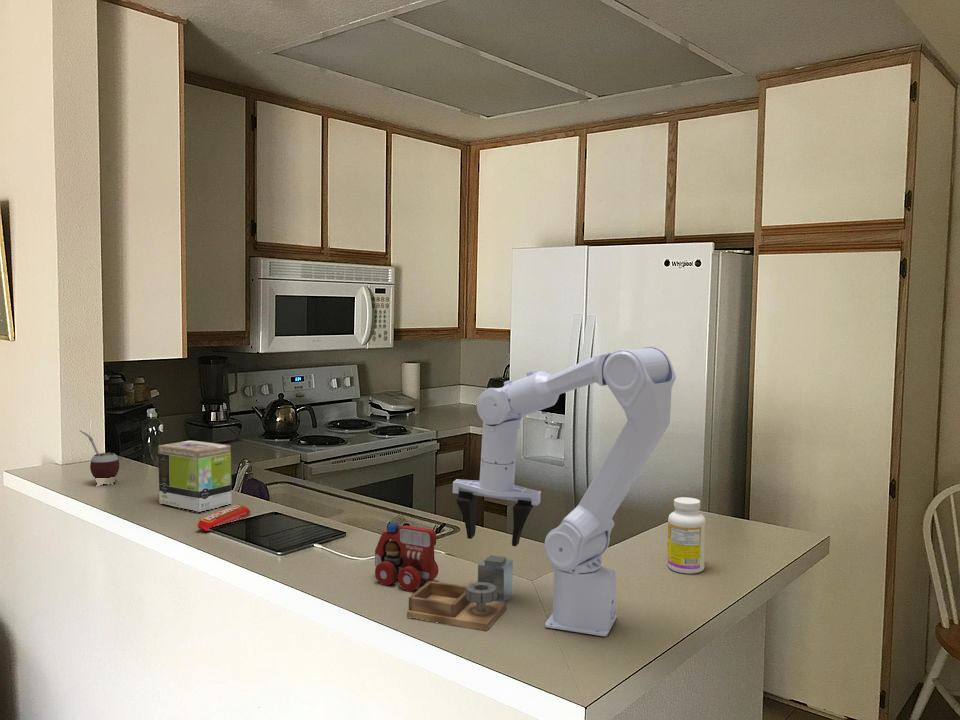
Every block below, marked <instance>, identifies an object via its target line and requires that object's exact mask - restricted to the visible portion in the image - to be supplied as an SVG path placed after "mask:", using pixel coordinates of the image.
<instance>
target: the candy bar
mask: <svg viewBox="0 0 960 720" xmlns="http://www.w3.org/2000/svg"><path fill="white" fill-rule="evenodd" d="M250 513H251V510H250V509H249V508H248V506H246V505H242V504H239V503H238V504H234V505H230V506H229V507H227V508H224V509H222V510H219V511H217V512H214V513H211V514H209V515H207V516H204V517H202V518H201V519H199V521H198V523H197V524H196V525H197V528H198V529H200V530H202V529H204V530H205V531H204V530H203V531H204V532H206V531H208V529H210V528H212V527H215V526H219V525H222V524H225V523H228V522H231V521H234V520H237V519H240V518H242V517H245V516H247V517H248V516H249V514H250ZM245 518H246V517H245ZM242 519H243V518H242ZM240 520H241V519H240Z"/></svg>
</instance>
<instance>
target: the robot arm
mask: <svg viewBox="0 0 960 720" xmlns="http://www.w3.org/2000/svg"><path fill="white" fill-rule="evenodd" d="M525 374H526V376H525V377H524V376H523V377H522V378H519V379H517V380H514V381H513V380H511V379H510V380H506V381H504V382H503V384H504V385H503V386H502V387H489V388H486V389H485V390H484V391H483V392H481V393H480V394H479V395H478V398H477V401H476V411H477V414H478V416H479V418H480V420H481V421H482V433H481V434H482V435H481V450H480V451H481V452H480V465H479V466H480V469H479V480H471V479H470V480H469V479H459V478H458V479H457V478H456V479H455V480H454V481H453V482H452V494H455V495H456V494H458V495H457V497H456V504H457V505H458V508H459V511H460V512H461V515H462V518H463V520H464V521H463V522H464V525H465V530H466V538H467V539H470V540H471V539H473V538H474V537H475V536H476V528H477V512H478V511H477V510H478V509H477V508H478V503H479V502H478V501H479V497H486V498H493V499H500V500H505V501H513V502H516V503H515V504H514V505H513V507H512V514H513V529H512V538H511V546H512V547H517V546H518V545H519V544H520V539H521V537H522V536H521V535H522V532H523V530H524V529H523V528H524V527H525V524H526V521H527V520H528V517H529V516H530V513H531V511H532V509H533V507H534V506H539V504H540V503H541V494H542V491H541V490H536V489H531V488H528V487H523V486H520V485H516V484H515V479H516V477H515V476H516V462H517V461H516V460H517V459H516V458H517V445H518V444H517V443H518V434H519V433H518V432H519V431H518V430H520V426H521V425H520V424H521V421H522V419H523V418H524V417H525V416H529V415H531V414H534V413H537V412H540V411H542V410H545V409H548V408H551V407H553V406H555V405H556V403H557V402H558V400H559V397H560V395H562V394H565V393H568V392H571V391H573V390H577V389H580V388H583V387H586V386H589V385H593V384H598V385H599V386H607V387H608V389H609V390H610V391H611V393H612V395H613V396H614V397H615V399H616V400H617V402H618V404H619V405H620V406H621V408H622V409H623V411H624V413H625V417H626V419H627V420H626V422H625V425H624V426H623V428H622V429H621V431H620V433H619V434H618V437H617V438H616V440H615V441H614V443H613V445H612V446H611V448H610V450H609V452H608V454H607V455H606V457H605V459H604V461H603V462H602V463H601V466H600V467H599V469H598V471H597V472H596V474H595V476H594V477H593V478H592V479H593V480H592V481H591V482H590V484H589V486H588V487H587V489H586V491H585V493H584V494H583V496H582V498H581V499H580V501H579V503H578V504H577V506H575V507H574V508H573V509H572V510H571V511H570V512H569V513H568V514H567V515H566V516H565V517H563V519H562V521H561V523H560V524H559V525H558V526H556V527H555V528H552V529H551V530H550V531H549V532H548V533H547V534H546V536H545V539H544V553H545V555H546V558H547V560H548V561H549V562H550V563H551V568H552V569H553V577H552V578H553V584H552V586H553V587H552V588H553V589H552V613H551V615H550V616H549V617H548V619H547V620H546V621H545V623H544V627H545V628H548V629H549V628H550V629H554V630H555V629H556V630H561V631H568V632H575V633H580V634H587V635H592V636H593V635H594V636H597V637H599V636H601V637H607V636H608V635H609V633H610V631H611V629H612V627H613V625H614V623H615V621H616V620H617V617H618V616H617V572H616V570H615V569H611V568H607V567H605V566H603V565H602V562H603V557H602V556H603V554H605V552H606V551H607V550H608V548H609V545H610V541H611V540H610V539H611V538H610V536H611V532H612V530H613V528H614V527H615V522H614V519H613V517H614V516H615V514H616V512H617V510H618V509H619V507H620V506H621V504H622V503H623V501H624V499H625V498H626V495H627V494H628V493H629V491H630V489H631V487H632V486H633V485H634V483H635V481H636V479H638V476H639V475H640V473H641V471H642V470H643V468H644V466H645V465H646V463H647V462H648V460H649V458H650V457H651V455H652V453H653V452H654V450H655V448H657V445H658V443H659V442H660V441H661V439H662V437H663V436H664V434H665V432H666V431H667V429H668V428H669V426H670V425H669V424H670V421H671V405H672V404H671V403H672V389H673V385H674V384H675V381H676V379H677V376H676V372H675V370H674V368H673V365H672V361H671V359H670V357H669V356H668V354H667V353H666V352H665V351H664V350H663V349H661V348H659V347H656V346H646V347H642V348H631V349H627V348H622V349H616V350H614V351H613V352H607V353H601V354H598V355H595V356H593V357H589V358H587V359H585V360H583V361H581V362H579V363H576V364H574V365H572V366H570V367H567V368H565V369H563V370H560V371H558V372H556V373H553V374H550V373H549V372H547V371H544V370H540V371H538V369H532V370H529V371H527V372H526V373H525Z"/></svg>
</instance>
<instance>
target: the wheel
mask: <svg viewBox="0 0 960 720" xmlns="http://www.w3.org/2000/svg"><path fill="white" fill-rule="evenodd" d="M466 586H467V587H466V599H467V600H468V601H469V602H473V603H480V604H481V603H482V604H484V603H490V602H492V601H494V600H495V599H496V598H497V587H496V586H495V585H493V584H491V583H486V582H478V581H477V582H471V583H469V584H468V585H466Z"/></svg>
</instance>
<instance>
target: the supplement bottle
mask: <svg viewBox="0 0 960 720" xmlns="http://www.w3.org/2000/svg"><path fill="white" fill-rule="evenodd" d="M673 506H674V511H672V512H671V513H670V514H669V515H668V518H667V519H668V520H667V566H668V568H669V569H670V570H672V571H674V572H677V573H682V574H688V575H689V574H690V575H691V574H697V573H702V572H703V570H704V569H705V567H706V566H705V565H706V563H705V562H706V560H705V559H706V518H705V516H704V515H703V514H702V513H700V509H701V500H700V499H698V498H694V497H686V496H684V497H683V496H681V497H676V498H674V499H673Z"/></svg>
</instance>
